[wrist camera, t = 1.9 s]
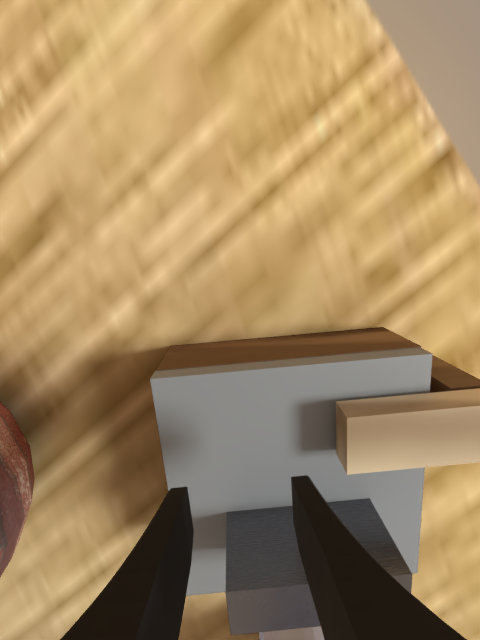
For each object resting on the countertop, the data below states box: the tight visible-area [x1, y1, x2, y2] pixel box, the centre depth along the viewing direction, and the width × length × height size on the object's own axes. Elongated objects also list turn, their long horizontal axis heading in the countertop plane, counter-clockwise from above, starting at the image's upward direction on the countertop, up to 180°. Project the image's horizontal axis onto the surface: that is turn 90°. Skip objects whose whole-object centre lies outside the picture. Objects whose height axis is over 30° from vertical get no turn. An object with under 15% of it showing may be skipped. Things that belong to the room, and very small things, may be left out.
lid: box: [150, 347, 432, 635], centre depth 15 cm, size 14×14×5 cm
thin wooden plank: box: [336, 388, 480, 475], centre depth 15 cm, size 3×8×2 cm, turn 95°
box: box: [156, 327, 480, 393], centre depth 19 cm, size 14×17×5 cm
